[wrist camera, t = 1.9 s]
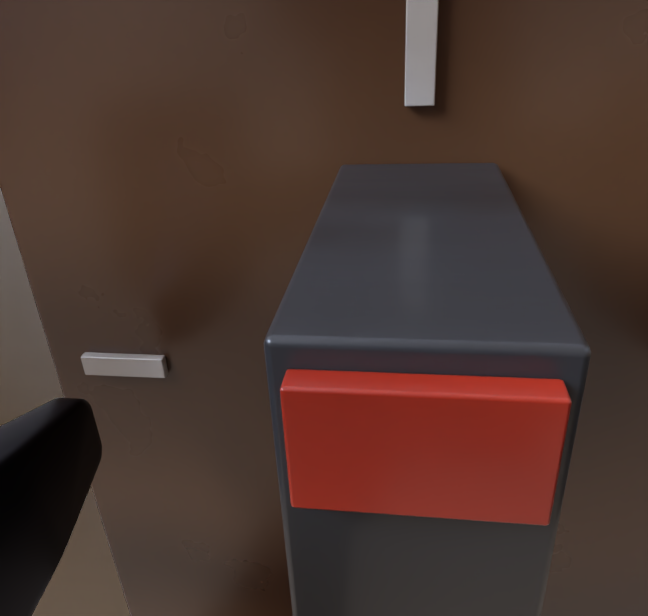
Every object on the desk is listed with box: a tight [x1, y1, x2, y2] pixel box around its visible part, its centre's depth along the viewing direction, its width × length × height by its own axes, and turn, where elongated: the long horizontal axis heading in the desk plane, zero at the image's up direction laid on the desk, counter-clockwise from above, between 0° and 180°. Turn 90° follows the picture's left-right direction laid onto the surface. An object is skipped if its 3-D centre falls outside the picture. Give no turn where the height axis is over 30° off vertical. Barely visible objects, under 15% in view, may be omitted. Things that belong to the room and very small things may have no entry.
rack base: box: [0, 0, 648, 616], centre depth 10 cm, size 14×12×3 cm
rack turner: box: [264, 163, 591, 616], centre depth 7 cm, size 6×2×5 cm, turn 2°
